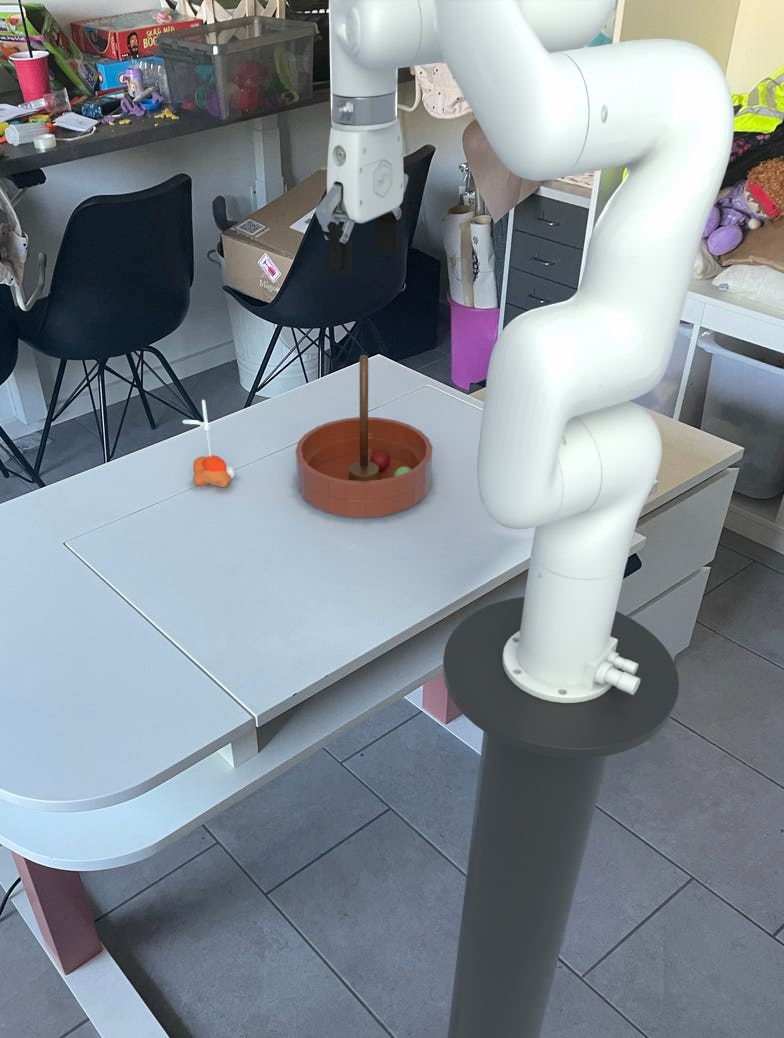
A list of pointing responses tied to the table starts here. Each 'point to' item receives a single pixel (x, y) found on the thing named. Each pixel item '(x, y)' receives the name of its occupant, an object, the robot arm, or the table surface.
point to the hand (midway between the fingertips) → (363, 262)
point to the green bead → (401, 471)
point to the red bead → (380, 460)
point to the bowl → (339, 447)
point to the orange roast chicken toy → (210, 462)
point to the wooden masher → (363, 432)
